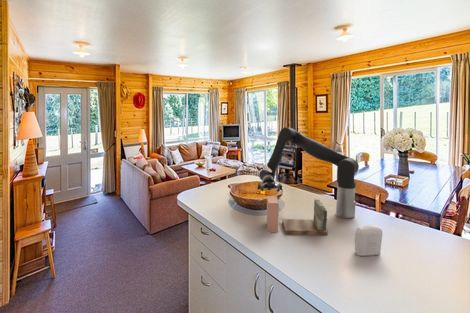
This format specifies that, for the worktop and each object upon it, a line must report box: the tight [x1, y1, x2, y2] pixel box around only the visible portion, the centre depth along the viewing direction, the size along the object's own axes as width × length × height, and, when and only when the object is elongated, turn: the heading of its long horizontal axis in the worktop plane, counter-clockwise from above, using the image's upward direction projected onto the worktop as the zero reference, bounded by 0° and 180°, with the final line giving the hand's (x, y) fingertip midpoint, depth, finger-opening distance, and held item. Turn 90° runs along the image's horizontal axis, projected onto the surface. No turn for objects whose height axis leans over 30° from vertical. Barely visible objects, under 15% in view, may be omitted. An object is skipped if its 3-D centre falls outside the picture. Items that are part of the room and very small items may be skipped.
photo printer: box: [354, 224, 383, 257], centre depth 108 cm, size 10×4×12 cm, turn 98°
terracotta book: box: [266, 195, 280, 233], centre depth 134 cm, size 5×11×15 cm, turn 176°
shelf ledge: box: [282, 198, 329, 236], centre depth 132 cm, size 20×14×14 cm
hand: (270, 190), depth 146 cm, fingers open, 8 cm apart
